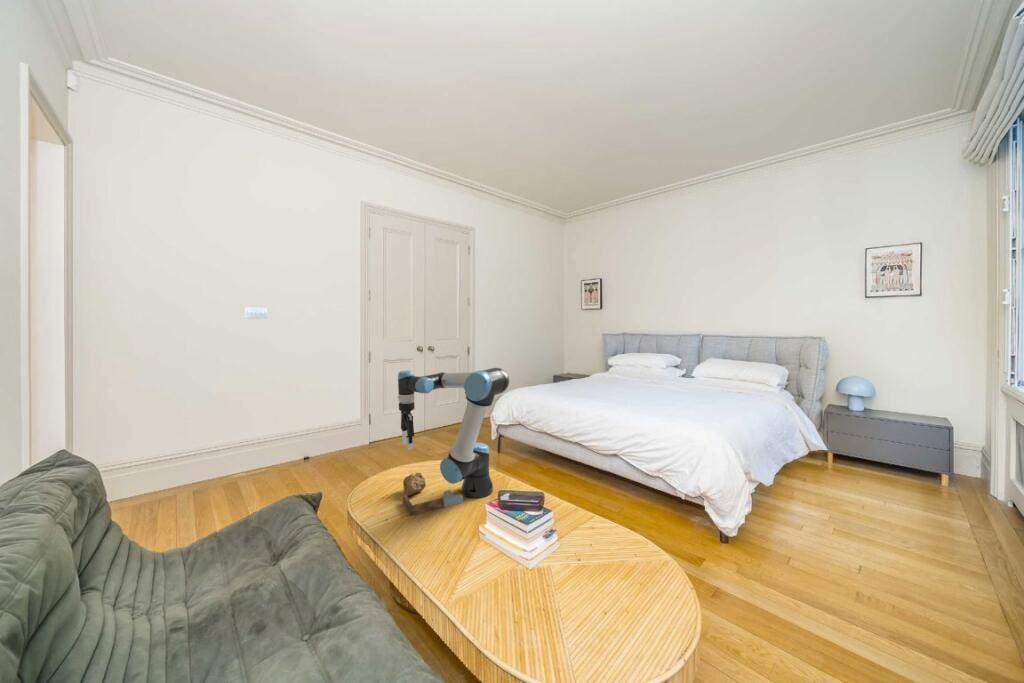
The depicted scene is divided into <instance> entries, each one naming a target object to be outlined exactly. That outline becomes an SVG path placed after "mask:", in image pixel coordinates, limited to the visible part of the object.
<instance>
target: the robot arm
mask: <svg viewBox="0 0 1024 683" xmlns="http://www.w3.org/2000/svg"><path fill="white" fill-rule="evenodd" d="M509 385H510V376H509V374H508V373H507V372H506V370H504V369H503V368H501V367H493V368H489V369H488V368H487V369H483V370H476V371H470V372H465V371H464V372H445V371H443V372H438V373H435V374H434V373H433V374H427V375H424V376H416V375H415V374H414V371H413V370H402V371H398V375H397V388H398V389H397V391H398V396H397V399H398V402H399V403H398V410H399V411H400V429H401V436H402V437H401V439H402V440H401V441H402V445H406V446H407V447H406V449H407V451H410V450H414V436H415V431H414V430H415V429H414V415H413V414H412V412H411V411H414V410H415V393H419V394H429V393H431V392H432V391H434V390H438V389H439V390H440V389H463V390H464V394H465V399H466V400H467V404H466V407H465V411H464V413H463V417H462V421H461V423H460V427H459V430H458V433H457V437H456V440H455V444H454V445H453V446H451V447H450V449H449V450H448V454H447V457H445V458H443V459H442V460H440V464H439V470H440V473H441V475H442V478H444V480H445V481H446V482H448V483H450V484H457V483H460V482H462V485H461V494H462V495H463V496H465V497H467V498H473V499H474V498H475V499H477V498H484V497H488V496H490V495H491V494H492V493H493V492H494V485H493V482H492V478H491V475H490V447H489V445H487V444H486V443H483V442H477V440H478V437H479V434H480V430H481V427H482V424H483V421H484V419H485V415H486V412H487V409H488V408H489V407H491V406H492V405H493V402H494V398H495V396H497V395H501V394H502V393H504V392H505V391H506V390H507V389H508V387H509Z"/></svg>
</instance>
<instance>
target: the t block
mask: <svg viewBox="0 0 1024 683" xmlns="http://www.w3.org/2000/svg"><path fill="white" fill-rule="evenodd" d="M442 498H443V499H444V507H443V508H448V507H452V506H456V505H460V504H462V503H463V504H464V495H463V494H462V493H457V494H454V493H453V492H452V491H451V490H450V489H449V490H443V497H442Z"/></svg>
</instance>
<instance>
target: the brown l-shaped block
mask: <svg viewBox="0 0 1024 683" xmlns="http://www.w3.org/2000/svg"><path fill="white" fill-rule="evenodd" d="M443 498H444V497H440V498H436V499H433V500H432V499H431V500H428V501H424V502H420V503H417V504H413V503H412V502H411V501H410V499H409V496H406V494H404V495H402V504H403V506H404V508H405V509H406V511H407V513H408V515H409V516H415V515H417V514H422V513H425V512H429V511H432V510H436V509H437V510H438V509H440V508H444V499H443Z"/></svg>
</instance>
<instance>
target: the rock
mask: <svg viewBox="0 0 1024 683" xmlns="http://www.w3.org/2000/svg"><path fill="white" fill-rule="evenodd" d="M402 485H403V491H404V495H406V496H407V497H410V496H412V495H414V494H416V493H421V492H422V491H423V490H424V489H425V488H426V485H427V483H426V478H425V477H424V476H423V474H422V473H421V472H416V473H410V474H409V475H408V476H406V477H405V478H404V479H403V484H402Z"/></svg>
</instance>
